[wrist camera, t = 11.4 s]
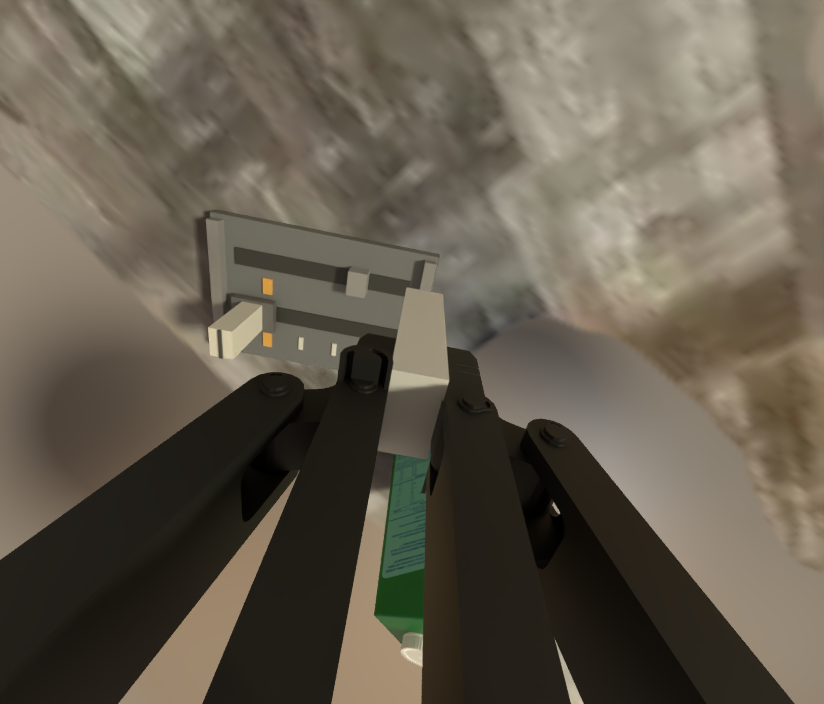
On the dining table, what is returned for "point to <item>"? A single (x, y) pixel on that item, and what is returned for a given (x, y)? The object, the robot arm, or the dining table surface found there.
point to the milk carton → (404, 557)
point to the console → (312, 284)
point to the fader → (241, 325)
